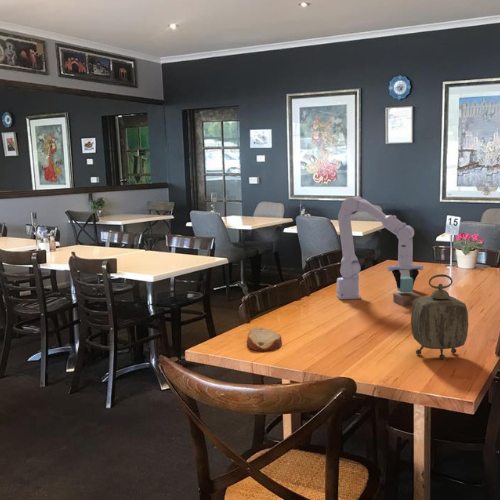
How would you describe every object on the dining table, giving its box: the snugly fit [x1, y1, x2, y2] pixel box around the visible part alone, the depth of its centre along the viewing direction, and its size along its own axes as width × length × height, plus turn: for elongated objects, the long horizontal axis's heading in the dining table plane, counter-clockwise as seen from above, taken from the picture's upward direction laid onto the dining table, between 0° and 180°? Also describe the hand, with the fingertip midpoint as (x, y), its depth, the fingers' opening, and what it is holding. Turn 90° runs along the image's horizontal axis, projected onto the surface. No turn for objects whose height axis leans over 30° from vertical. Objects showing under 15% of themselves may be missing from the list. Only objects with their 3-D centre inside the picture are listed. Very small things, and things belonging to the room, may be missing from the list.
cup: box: [400, 270, 415, 287], centre depth 253 cm, size 8×8×10 cm
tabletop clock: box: [410, 273, 469, 361], centre depth 162 cm, size 14×9×25 cm, turn 92°
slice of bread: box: [246, 327, 283, 353], centre depth 184 cm, size 18×18×4 cm
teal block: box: [396, 277, 414, 293], centre depth 230 cm, size 5×5×6 cm
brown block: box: [392, 292, 422, 307], centre depth 229 cm, size 8×8×4 cm
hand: (404, 287), depth 230 cm, fingers closed on teal block, 5 cm apart
